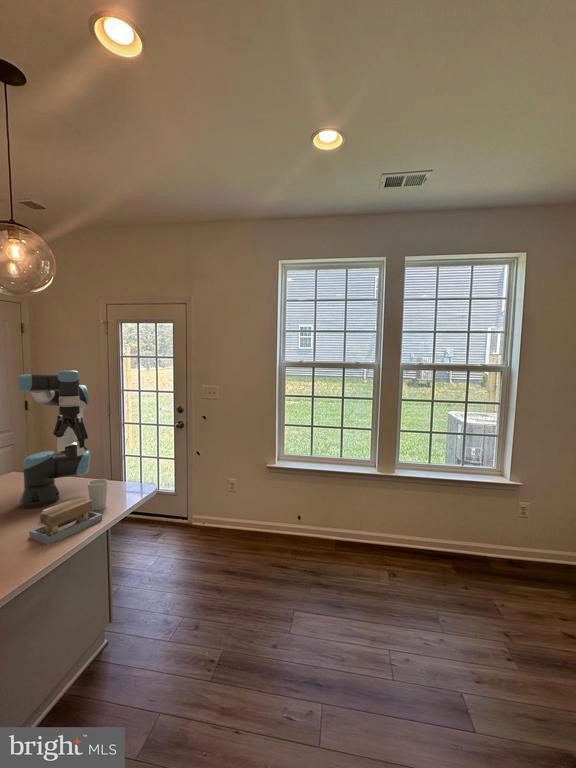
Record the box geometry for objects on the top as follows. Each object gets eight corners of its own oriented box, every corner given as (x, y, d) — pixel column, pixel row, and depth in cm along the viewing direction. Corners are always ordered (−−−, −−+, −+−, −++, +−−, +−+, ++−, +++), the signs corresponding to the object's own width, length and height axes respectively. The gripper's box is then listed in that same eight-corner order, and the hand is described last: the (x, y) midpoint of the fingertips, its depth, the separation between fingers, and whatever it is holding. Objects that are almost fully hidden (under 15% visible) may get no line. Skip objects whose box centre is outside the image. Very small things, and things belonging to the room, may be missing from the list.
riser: (42, 519, 137) (42, 510, 137) (71, 508, 148) (71, 499, 148) (48, 521, 136) (48, 512, 136) (76, 509, 147) (76, 501, 146)
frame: (29, 537, 123) (29, 524, 123) (83, 514, 143) (83, 503, 142) (48, 544, 118) (48, 531, 118) (102, 520, 138) (101, 508, 137)
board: (40, 523, 124) (39, 513, 124) (81, 506, 139) (81, 497, 139) (51, 527, 121) (50, 516, 121) (92, 509, 136) (91, 500, 136)
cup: (93, 503, 153) (93, 478, 153) (111, 503, 154) (110, 478, 153) (84, 511, 145) (83, 485, 145) (103, 510, 146) (102, 484, 145)
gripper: (43, 404, 144) (44, 451, 145) (79, 408, 133) (80, 458, 135) (60, 402, 150) (62, 447, 152) (96, 406, 140) (97, 454, 142)
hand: (70, 453), depth 143 cm, fingers open, 13 cm apart
